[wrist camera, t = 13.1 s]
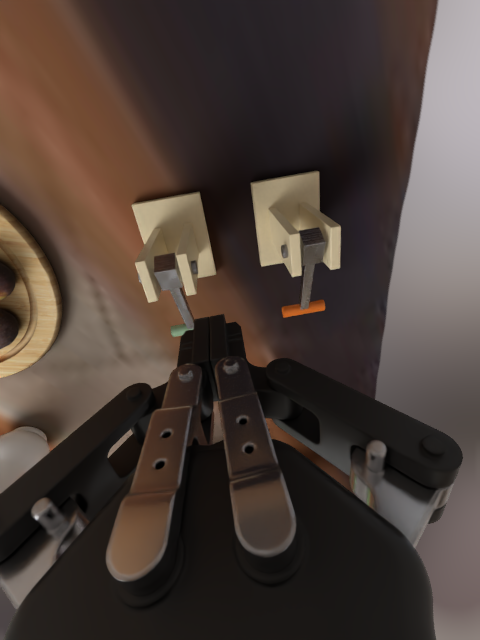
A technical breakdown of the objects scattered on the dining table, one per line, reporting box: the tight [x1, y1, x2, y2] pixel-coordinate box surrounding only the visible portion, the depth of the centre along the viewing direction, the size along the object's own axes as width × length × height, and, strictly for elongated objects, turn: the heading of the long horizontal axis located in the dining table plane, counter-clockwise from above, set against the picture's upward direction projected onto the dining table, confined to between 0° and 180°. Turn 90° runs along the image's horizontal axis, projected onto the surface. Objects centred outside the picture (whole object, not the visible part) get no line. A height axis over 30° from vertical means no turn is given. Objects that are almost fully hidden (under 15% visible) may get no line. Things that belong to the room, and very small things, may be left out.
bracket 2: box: [250, 171, 341, 277], centre depth 36 cm, size 11×8×13 cm
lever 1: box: [154, 253, 194, 337], centre depth 36 cm, size 13×6×2 cm, turn 9°
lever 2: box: [282, 227, 326, 317], centre depth 36 cm, size 13×6×2 cm, turn 9°
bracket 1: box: [132, 192, 216, 302], centre depth 36 cm, size 11×8×13 cm
